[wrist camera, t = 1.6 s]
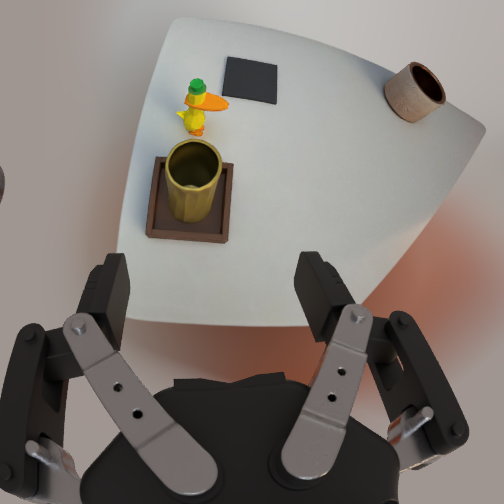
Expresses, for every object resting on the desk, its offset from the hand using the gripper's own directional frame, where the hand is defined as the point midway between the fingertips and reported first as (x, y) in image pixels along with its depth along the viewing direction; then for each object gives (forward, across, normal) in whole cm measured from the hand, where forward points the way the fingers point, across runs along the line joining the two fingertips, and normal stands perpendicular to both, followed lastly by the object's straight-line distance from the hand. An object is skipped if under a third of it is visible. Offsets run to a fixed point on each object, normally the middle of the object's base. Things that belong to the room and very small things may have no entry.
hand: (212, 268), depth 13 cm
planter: (+44, -42, -9) cm, 62 cm away
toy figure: (+34, +1, +1) cm, 34 cm away
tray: (+26, +1, +10) cm, 28 cm away
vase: (+26, +1, +9) cm, 28 cm away
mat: (+41, -8, -7) cm, 42 cm away
